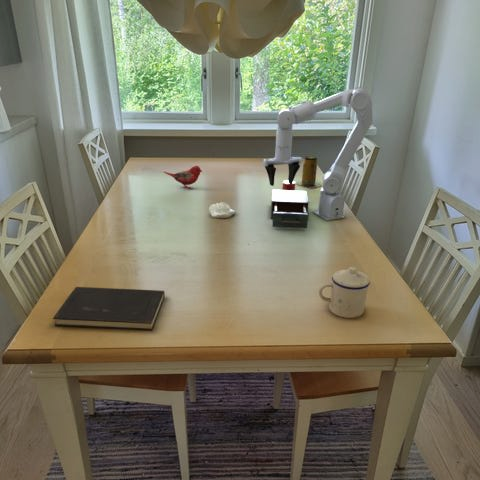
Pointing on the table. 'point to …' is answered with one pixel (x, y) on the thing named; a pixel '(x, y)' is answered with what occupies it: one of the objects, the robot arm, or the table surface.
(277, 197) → the cabinet
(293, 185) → the can
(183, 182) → the decorative bird figurine
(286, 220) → the drawer
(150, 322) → the hardcover book
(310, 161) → the condiment
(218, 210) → the white lumpy piece
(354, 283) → the teacup with lid
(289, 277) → the table surface
